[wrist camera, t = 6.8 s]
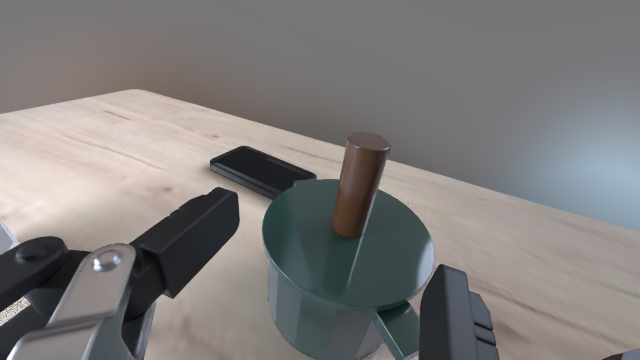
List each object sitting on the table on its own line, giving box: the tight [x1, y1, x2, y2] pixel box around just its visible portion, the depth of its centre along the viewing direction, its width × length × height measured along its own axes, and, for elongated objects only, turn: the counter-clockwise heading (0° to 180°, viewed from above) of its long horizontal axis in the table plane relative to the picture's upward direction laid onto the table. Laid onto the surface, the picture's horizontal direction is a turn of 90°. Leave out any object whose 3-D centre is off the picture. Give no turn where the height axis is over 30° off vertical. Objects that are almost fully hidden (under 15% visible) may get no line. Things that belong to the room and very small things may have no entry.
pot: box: [268, 178, 420, 360], centre depth 22 cm, size 11×17×8 cm
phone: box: [210, 146, 317, 200], centre depth 38 cm, size 8×1×15 cm
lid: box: [262, 132, 435, 312], centre depth 18 cm, size 13×13×8 cm
